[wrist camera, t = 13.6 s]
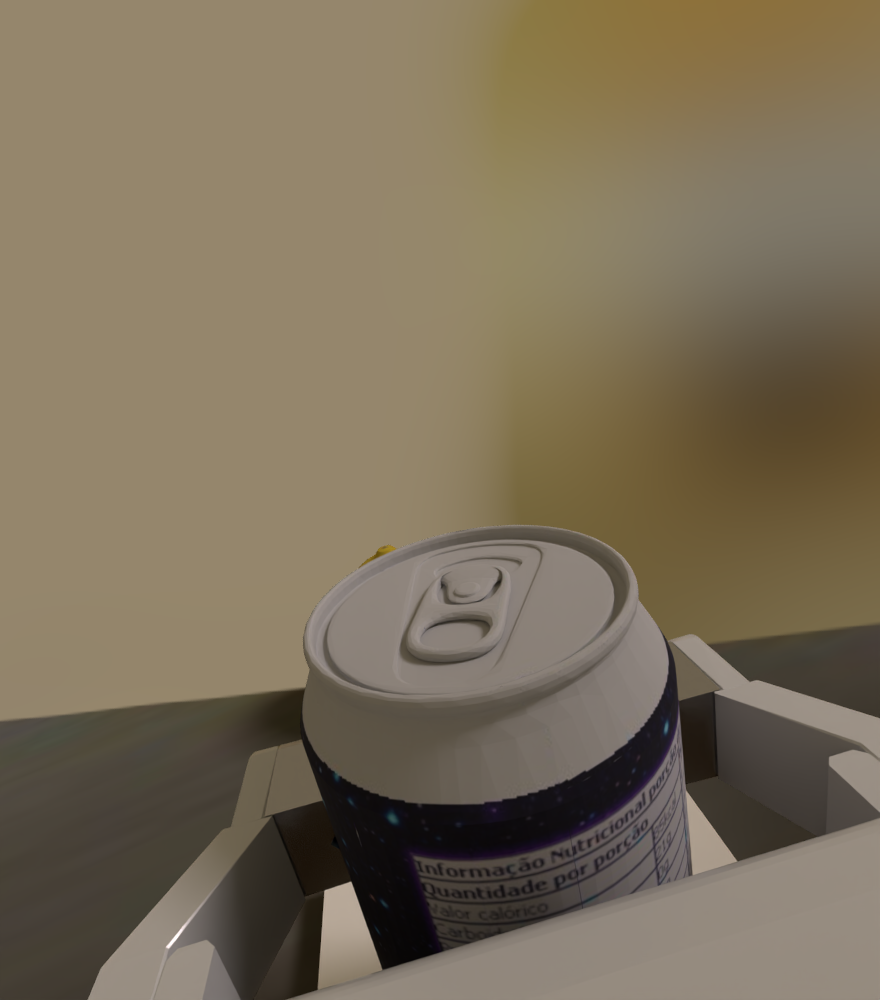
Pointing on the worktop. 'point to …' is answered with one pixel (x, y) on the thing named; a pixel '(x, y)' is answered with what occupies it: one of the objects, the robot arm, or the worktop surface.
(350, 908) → the mat
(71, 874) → the worktop surface
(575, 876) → the beverage can
